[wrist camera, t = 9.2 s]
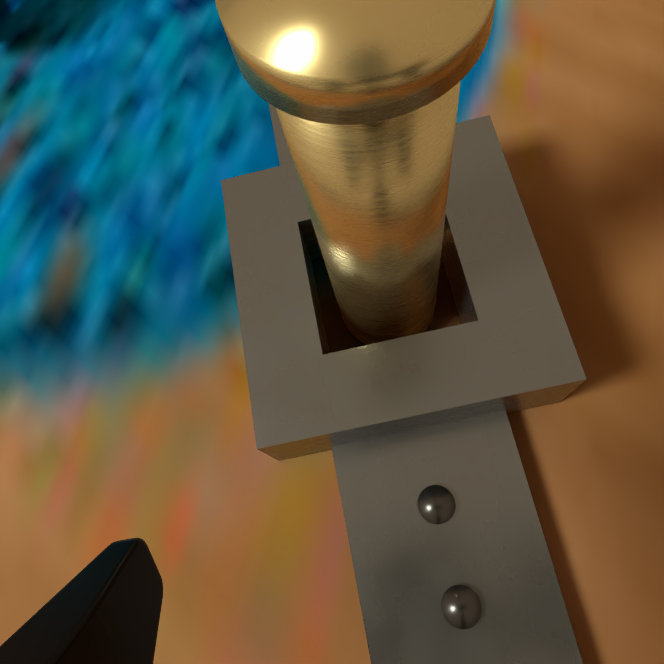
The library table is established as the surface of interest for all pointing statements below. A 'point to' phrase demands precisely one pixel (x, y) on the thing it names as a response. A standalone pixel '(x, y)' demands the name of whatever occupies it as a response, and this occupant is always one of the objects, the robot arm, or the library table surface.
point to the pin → (367, 135)
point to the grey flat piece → (419, 414)
